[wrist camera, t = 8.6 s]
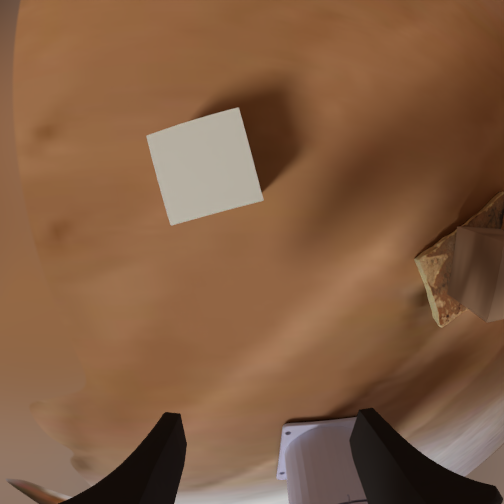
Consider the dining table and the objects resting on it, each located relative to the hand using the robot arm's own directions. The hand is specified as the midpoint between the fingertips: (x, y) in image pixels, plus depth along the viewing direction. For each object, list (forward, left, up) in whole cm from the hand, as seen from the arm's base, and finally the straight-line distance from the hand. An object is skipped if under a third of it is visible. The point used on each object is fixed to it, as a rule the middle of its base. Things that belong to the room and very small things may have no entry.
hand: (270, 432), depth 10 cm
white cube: (+10, +3, -10) cm, 14 cm away
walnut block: (+5, -16, -9) cm, 19 cm away
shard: (+5, -15, -11) cm, 19 cm away
